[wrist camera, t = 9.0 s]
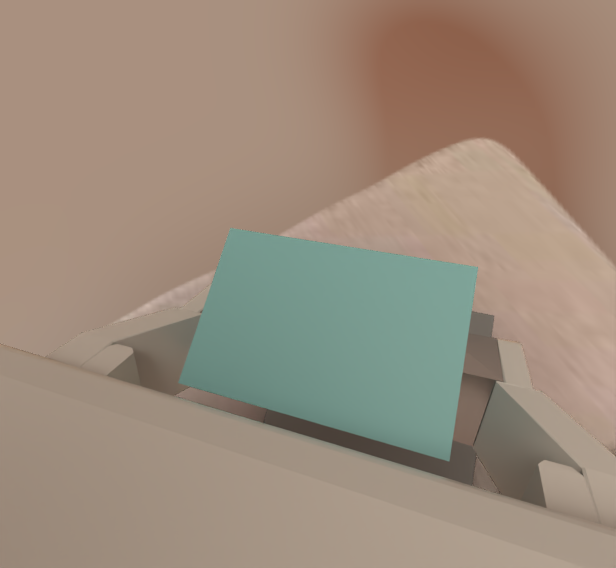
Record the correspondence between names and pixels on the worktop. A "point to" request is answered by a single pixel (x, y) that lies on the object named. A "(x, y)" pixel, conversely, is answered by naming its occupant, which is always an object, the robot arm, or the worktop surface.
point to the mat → (454, 469)
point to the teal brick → (337, 337)
